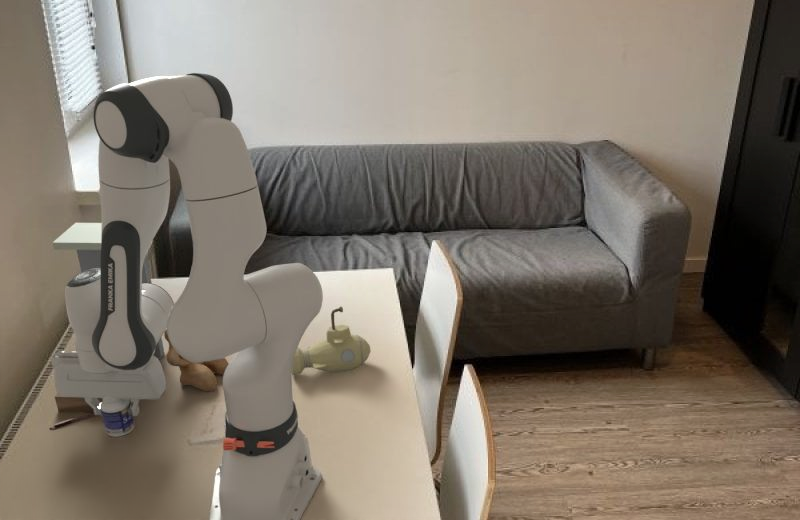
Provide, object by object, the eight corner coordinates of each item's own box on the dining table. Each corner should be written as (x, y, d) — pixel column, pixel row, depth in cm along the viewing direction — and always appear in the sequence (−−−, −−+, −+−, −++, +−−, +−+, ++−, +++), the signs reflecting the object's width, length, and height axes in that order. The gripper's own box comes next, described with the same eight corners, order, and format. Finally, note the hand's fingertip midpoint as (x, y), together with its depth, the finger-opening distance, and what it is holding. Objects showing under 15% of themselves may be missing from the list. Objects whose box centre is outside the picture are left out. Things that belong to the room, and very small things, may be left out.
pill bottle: (131, 436, 148) (122, 398, 144) (103, 438, 147) (94, 400, 144) (137, 419, 152) (129, 381, 149) (110, 421, 152) (101, 383, 148)
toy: (375, 374, 165) (372, 312, 158) (294, 388, 161) (288, 325, 155) (366, 353, 172) (363, 293, 166) (289, 366, 169) (282, 305, 162)
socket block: (125, 413, 154) (122, 398, 153) (58, 411, 156) (54, 396, 154) (154, 368, 169) (152, 354, 167) (92, 366, 170) (89, 353, 168)
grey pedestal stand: (148, 378, 165) (121, 243, 152) (84, 377, 166) (52, 242, 153) (164, 353, 174) (140, 223, 161) (104, 352, 175) (75, 222, 162)
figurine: (216, 396, 159) (183, 336, 153) (178, 403, 162) (145, 345, 156) (235, 365, 168) (205, 308, 162) (200, 373, 171) (169, 316, 165)
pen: (50, 431, 150) (49, 427, 150) (49, 429, 151) (48, 425, 150) (109, 411, 155) (108, 407, 155) (108, 409, 156) (107, 405, 156)
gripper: (40, 360, 140) (57, 422, 146) (150, 362, 139) (162, 425, 145) (57, 342, 146) (72, 402, 152) (162, 344, 144) (174, 405, 150)
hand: (117, 413), depth 148 cm, fingers closed on pill bottle, 5 cm apart
